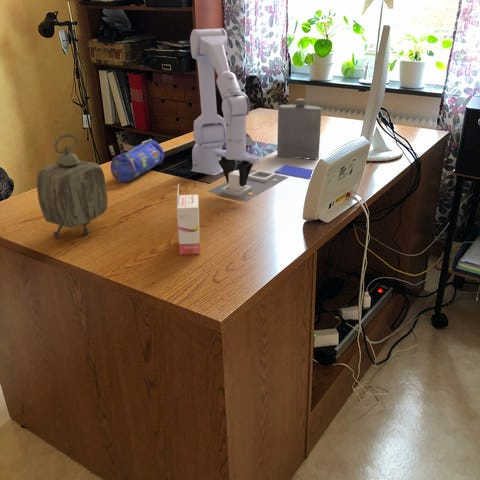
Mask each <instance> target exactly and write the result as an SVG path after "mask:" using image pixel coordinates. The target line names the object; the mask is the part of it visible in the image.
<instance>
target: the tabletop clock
mask: <svg viewBox="0 0 480 480" xmlns="http://www.w3.org/2000/svg"><path fill="white" fill-rule="evenodd" d="M69 137H71V138H73V139H74V141H75V144H73V146H72V147H71V148H70V146H67V145H66V146H65V147H64V150H59V149H58V148H57V147H58V145H59V144H58V143H59V142H60V141H61V140H63V139H65V138H69ZM78 142H79V141H78V138H77V136H76V135H74V134H73V133H66V134H62V135H61V136H59V137H58V138H57V139H56V140H55V142H54V150H55V151H56V152H57V153H58V154H61V155H59V157H58V160H57V161H55V162H53V163H51V164H49V165H47V166H45V167H44V168H42V169H40V171H38V172H37V177H36V190H37V199H38V204H39V207H40V210H41V214H42V216H43V218H44V220H45V221H46V222H48V223H51V224H55V225H58V228H57V230H56V231H54V232H53V233H52V236H53V238H54V239H59V237H60V235H61V234H60V232H61V230H63V228H64V227H65V228H71V229H73V228H76V227H79V226H83V230H82V232H83V235H88V234H90V229H89V228H87V226H86V223H90V222H91V221H93V220H95V219H97V218H98V217H100V216H102V215H103V214H104V213H106V211H107V209H108V191H107V189H108V188H107V184H106V178H105V177H106V176H105V174H104V171H103V168H102V167H101V166H100V164H99V163H98V162H97V163H96V162H91V161H87V160H82V159H81V160H80V159H79V157H78V155H77V154H75V153H73V152H72V151H73V150H75V149H76V148H77V146H78V144H79V143H78Z"/></svg>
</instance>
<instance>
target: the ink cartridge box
mask: <svg viewBox="0 0 480 480" xmlns="http://www.w3.org/2000/svg"><path fill="white" fill-rule="evenodd" d="M179 187H180V183H178V184H177V192H176V219H177V234H178V246H179V247H178V249H179V255H181V256H183V255H200V254H201V253H200V208H199V207H200V206H199V205H200V203H199V202H200V201H199V194H181V195H180V194H179V190H180V188H179Z"/></svg>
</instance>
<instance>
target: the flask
mask: <svg viewBox="0 0 480 480" xmlns="http://www.w3.org/2000/svg"><path fill="white" fill-rule="evenodd" d="M306 102H307V101H306V99H304V98H296V99H295V100H294V104H280V105H278V107H277V138H276V139H277V148H276V149H277V150H276V152H277V153H276V155H277V156H278V157H279V158H291V157H301V158H300V159H303V158H309V159H308V160H310V159H315V160H317V159H316V158H318V159H319V157H320V140H321V123H322V107H320V106H316V105H306Z"/></svg>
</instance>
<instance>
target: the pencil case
mask: <svg viewBox="0 0 480 480" xmlns="http://www.w3.org/2000/svg"><path fill="white" fill-rule="evenodd" d="M164 159H165V152H164V148H163V147H162V146H161V145H160V144H159V143H158V142H157V141H155V140H154V139H152V138H149V139H146V140H144V141H141V143H140V144H138V145H136V146H135V147H132V148H131V149H130V150H128V151H126V152H124V153H122V154H121V153H120V154H118V155H116V156H115V157H113V158H112V160H111V162H110V172H111V175H112V177H113V178H114V180H116V181H117V182H120V183H127V182H130V181H132V180H133V179H135V178H137V177H139V176H141V175H142V174H144V173H146V172H148V171H150V170H151V169H153V168H154V167H156V166H157V165H160V164H162V163H163V161H164Z"/></svg>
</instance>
